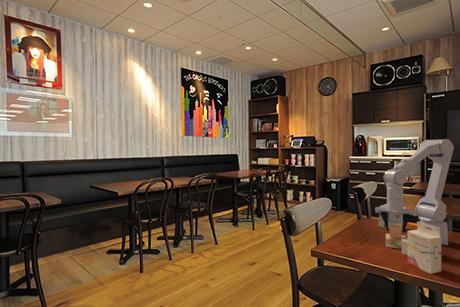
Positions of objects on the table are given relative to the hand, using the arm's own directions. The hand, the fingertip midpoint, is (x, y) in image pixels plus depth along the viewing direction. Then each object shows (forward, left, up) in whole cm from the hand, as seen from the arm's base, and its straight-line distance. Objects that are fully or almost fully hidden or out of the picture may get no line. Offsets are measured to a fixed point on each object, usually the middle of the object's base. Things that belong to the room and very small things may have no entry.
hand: (395, 231), depth 111 cm
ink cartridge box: (-8, +19, -6) cm, 22 cm away
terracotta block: (0, 0, -2) cm, 2 cm away
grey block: (-4, +7, -6) cm, 10 cm away
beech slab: (0, 0, -6) cm, 6 cm away
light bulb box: (+1, -27, -6) cm, 28 cm away
